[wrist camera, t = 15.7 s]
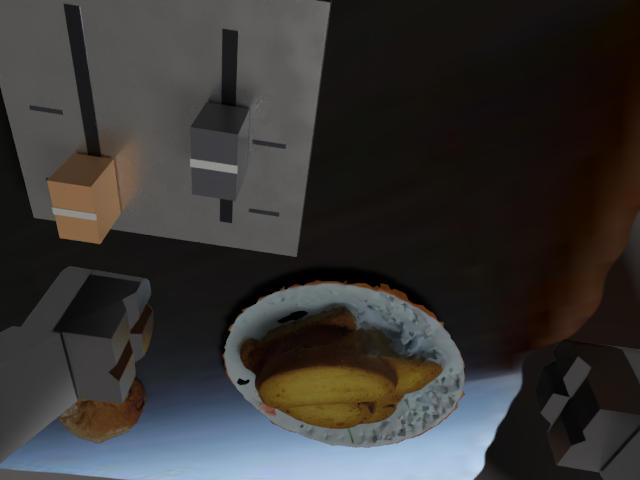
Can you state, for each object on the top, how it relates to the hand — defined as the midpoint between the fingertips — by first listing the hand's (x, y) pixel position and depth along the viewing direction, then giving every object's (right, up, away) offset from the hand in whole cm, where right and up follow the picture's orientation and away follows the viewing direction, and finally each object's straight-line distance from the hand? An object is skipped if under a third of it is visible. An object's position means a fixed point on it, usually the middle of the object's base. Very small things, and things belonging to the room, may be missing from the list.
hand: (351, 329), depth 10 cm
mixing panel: (-12, +12, +29) cm, 33 cm away
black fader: (-7, +9, +26) cm, 29 cm away
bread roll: (-26, -16, +51) cm, 60 cm away
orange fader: (-18, +6, +30) cm, 35 cm away
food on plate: (+2, -11, +45) cm, 47 cm away
